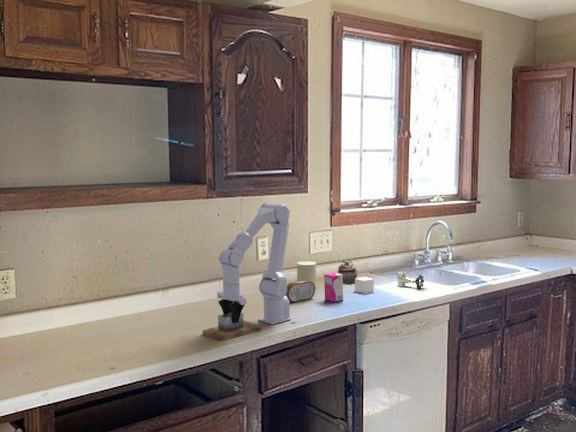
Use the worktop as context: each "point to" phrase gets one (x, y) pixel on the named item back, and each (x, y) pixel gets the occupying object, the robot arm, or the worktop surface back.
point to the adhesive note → (364, 285)
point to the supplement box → (333, 287)
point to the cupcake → (348, 272)
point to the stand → (222, 335)
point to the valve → (409, 280)
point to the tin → (300, 290)
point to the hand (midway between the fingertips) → (231, 321)
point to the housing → (229, 322)
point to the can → (306, 271)
